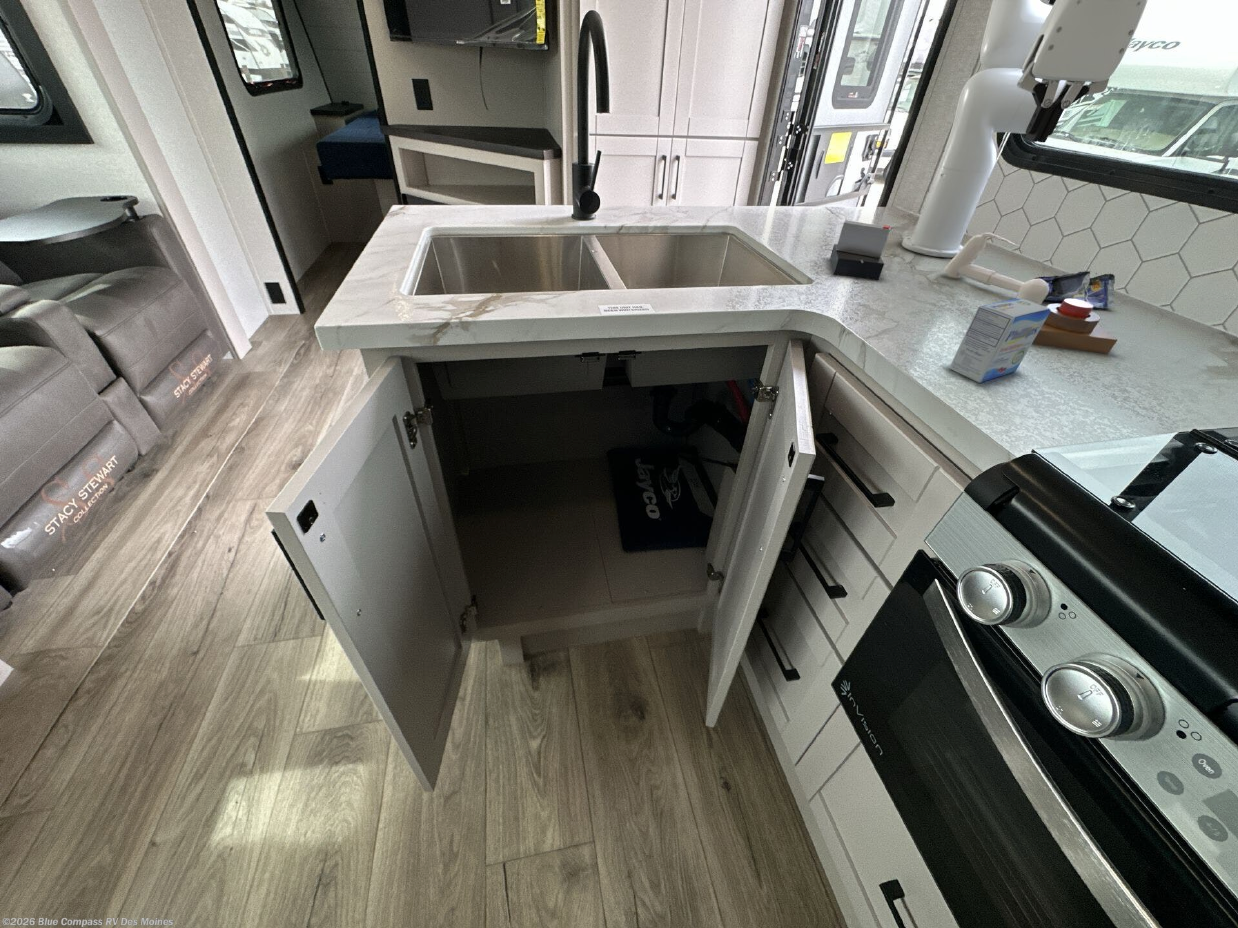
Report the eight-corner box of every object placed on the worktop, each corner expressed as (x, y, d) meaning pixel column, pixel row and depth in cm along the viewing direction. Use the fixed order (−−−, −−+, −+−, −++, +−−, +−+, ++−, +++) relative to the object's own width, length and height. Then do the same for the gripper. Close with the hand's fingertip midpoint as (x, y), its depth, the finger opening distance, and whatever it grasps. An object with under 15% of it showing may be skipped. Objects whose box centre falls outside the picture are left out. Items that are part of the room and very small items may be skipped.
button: (1052, 308, 76) (1059, 297, 75) (1079, 311, 76) (1087, 300, 74) (1063, 317, 73) (1070, 305, 72) (1091, 321, 73) (1098, 309, 72)
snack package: (1086, 320, 83) (1119, 306, 88) (1103, 279, 80) (1136, 267, 85) (1007, 306, 93) (1041, 295, 97) (1019, 269, 89) (1053, 259, 94)
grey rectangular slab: (835, 250, 98) (844, 220, 94) (837, 248, 99) (846, 218, 96) (879, 258, 95) (890, 228, 91) (881, 255, 96) (891, 226, 93)
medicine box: (978, 384, 64) (1015, 318, 58) (946, 368, 67) (978, 304, 62) (1015, 373, 67) (1053, 308, 62) (983, 358, 70) (1017, 295, 65)
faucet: (1006, 331, 90) (1056, 284, 82) (939, 268, 98) (978, 220, 90) (1021, 328, 91) (1071, 281, 83) (953, 266, 99) (993, 218, 91)
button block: (1011, 323, 81) (1025, 298, 78) (1082, 332, 79) (1098, 306, 77) (1030, 344, 74) (1046, 317, 72) (1107, 354, 73) (1126, 327, 70)
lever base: (818, 256, 104) (822, 240, 102) (881, 264, 102) (887, 247, 100) (822, 275, 95) (827, 257, 93) (891, 283, 93) (898, 266, 91)
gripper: (1168, -28, 65) (1079, 141, 77) (1039, -31, 67) (972, 134, 79) (1206, -35, 59) (1104, 149, 71) (1063, -39, 61) (987, 140, 73)
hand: (1034, 140), depth 75 cm, fingers closed
